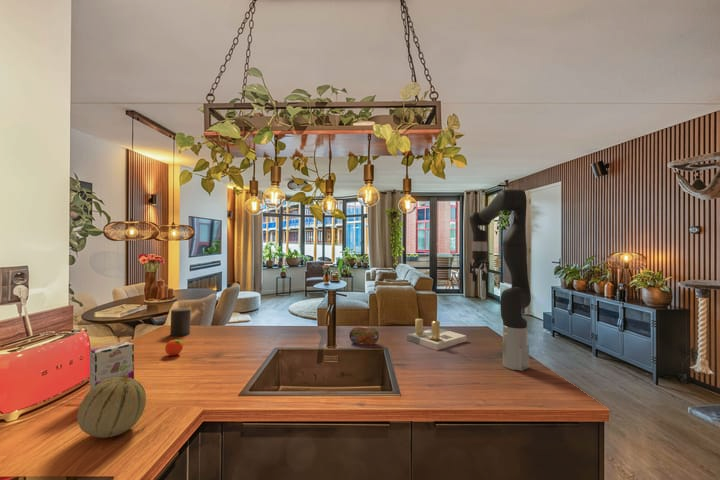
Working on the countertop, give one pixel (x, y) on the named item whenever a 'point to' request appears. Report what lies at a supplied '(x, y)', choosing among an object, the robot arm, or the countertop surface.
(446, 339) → the pegboard
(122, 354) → the candy bar box
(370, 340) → the tin
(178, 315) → the pillar candle
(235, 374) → the countertop surface
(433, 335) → the brass pin
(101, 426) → the cantaloupe
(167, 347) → the red tomato
